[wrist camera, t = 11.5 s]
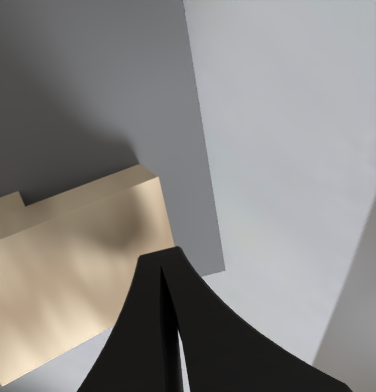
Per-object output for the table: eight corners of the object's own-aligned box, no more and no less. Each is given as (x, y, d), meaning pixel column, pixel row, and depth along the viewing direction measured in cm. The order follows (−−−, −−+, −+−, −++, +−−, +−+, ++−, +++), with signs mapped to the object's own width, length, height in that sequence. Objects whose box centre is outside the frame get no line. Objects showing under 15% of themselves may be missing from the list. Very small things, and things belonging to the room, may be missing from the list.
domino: (184, 286, 14) (2, 386, 12) (165, 267, 16) (-2, 353, 13) (158, 176, 12) (-76, 270, 9) (139, 163, 13) (-72, 242, 11)
